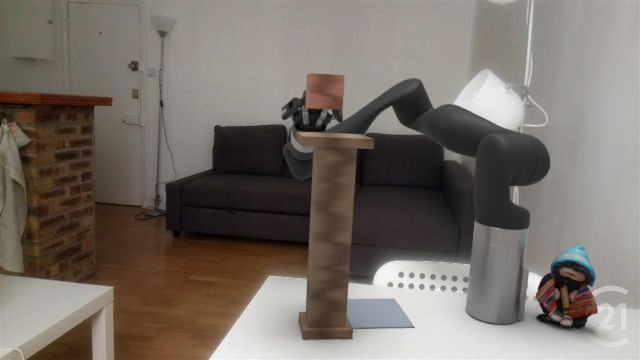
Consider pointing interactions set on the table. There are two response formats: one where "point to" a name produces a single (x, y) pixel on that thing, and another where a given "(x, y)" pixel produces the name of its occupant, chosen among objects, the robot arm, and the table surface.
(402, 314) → the pad
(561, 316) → the figurine
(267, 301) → the table surface
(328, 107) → the mallet
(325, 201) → the wooden pedestal column
